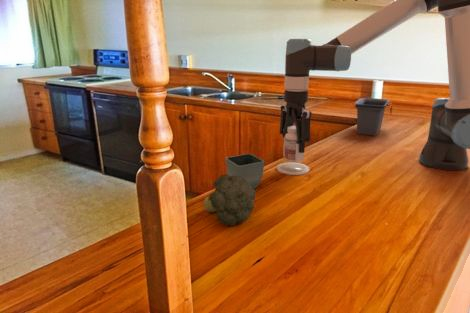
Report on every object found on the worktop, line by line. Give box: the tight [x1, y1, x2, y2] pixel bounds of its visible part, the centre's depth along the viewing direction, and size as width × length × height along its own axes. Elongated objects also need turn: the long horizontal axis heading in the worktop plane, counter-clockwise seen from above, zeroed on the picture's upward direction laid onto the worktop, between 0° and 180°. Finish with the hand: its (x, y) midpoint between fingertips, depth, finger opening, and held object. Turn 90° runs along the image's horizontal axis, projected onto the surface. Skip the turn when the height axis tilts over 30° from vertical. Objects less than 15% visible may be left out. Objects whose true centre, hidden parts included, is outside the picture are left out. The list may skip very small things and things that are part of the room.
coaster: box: [276, 162, 310, 176], centre depth 127 cm, size 11×11×1 cm
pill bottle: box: [283, 125, 302, 163], centre depth 124 cm, size 6×6×11 cm
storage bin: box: [354, 97, 393, 136], centre depth 173 cm, size 21×16×14 cm
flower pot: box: [225, 153, 265, 190], centre depth 111 cm, size 9×9×9 cm
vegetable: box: [202, 173, 256, 227], centre depth 92 cm, size 12×13×15 cm
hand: (293, 158), depth 126 cm, fingers closed on pill bottle, 6 cm apart
